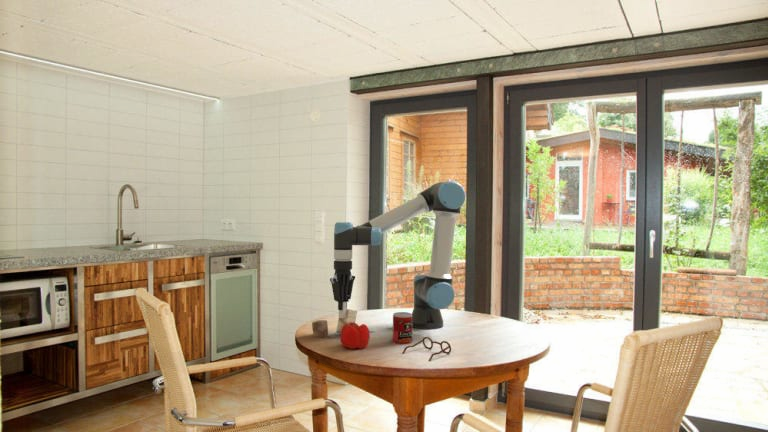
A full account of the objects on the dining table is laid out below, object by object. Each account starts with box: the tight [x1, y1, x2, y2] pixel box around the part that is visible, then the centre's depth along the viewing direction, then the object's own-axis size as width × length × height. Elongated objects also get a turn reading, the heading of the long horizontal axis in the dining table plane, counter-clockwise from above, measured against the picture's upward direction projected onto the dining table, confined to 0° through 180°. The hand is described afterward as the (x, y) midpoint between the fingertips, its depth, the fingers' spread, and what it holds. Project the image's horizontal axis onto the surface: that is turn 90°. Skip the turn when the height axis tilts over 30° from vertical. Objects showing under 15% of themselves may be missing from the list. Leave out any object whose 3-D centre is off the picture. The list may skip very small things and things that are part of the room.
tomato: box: [339, 322, 371, 350], centre depth 195 cm, size 11×12×9 cm
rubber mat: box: [326, 330, 375, 340], centre depth 215 cm, size 11×19×1 cm, turn 141°
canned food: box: [392, 311, 413, 345], centre depth 205 cm, size 8×8×11 cm
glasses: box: [401, 336, 452, 362], centre depth 188 cm, size 13×13×5 cm
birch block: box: [335, 308, 358, 334], centre depth 213 cm, size 5×5×10 cm
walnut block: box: [311, 319, 329, 338], centre depth 211 cm, size 4×4×6 cm
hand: (342, 317), depth 211 cm, fingers closed
